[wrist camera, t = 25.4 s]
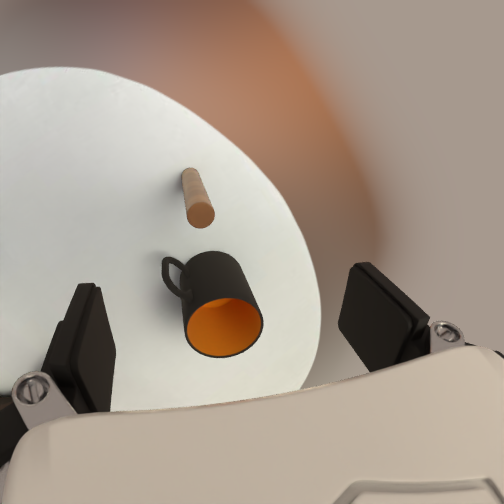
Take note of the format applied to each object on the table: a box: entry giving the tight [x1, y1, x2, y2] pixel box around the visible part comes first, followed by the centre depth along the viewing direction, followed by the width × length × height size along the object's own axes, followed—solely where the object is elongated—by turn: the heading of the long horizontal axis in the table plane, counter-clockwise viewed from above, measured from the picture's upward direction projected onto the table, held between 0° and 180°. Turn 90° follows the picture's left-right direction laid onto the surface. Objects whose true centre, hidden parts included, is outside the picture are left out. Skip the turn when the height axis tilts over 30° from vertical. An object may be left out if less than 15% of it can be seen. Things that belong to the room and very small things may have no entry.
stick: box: [182, 168, 215, 228], centre depth 28 cm, size 2×2×14 cm
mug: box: [162, 251, 263, 358], centre depth 35 cm, size 8×12×10 cm
